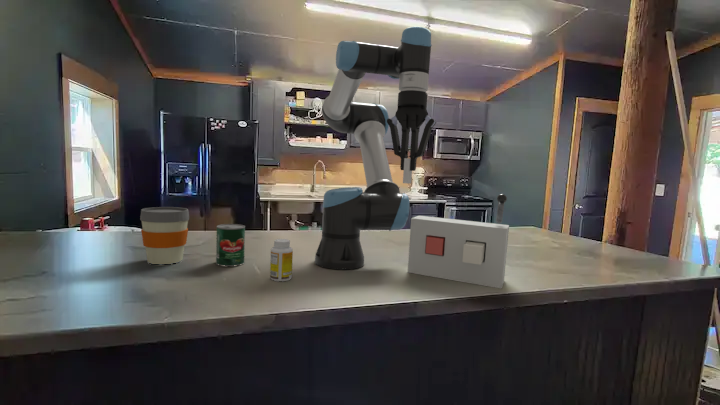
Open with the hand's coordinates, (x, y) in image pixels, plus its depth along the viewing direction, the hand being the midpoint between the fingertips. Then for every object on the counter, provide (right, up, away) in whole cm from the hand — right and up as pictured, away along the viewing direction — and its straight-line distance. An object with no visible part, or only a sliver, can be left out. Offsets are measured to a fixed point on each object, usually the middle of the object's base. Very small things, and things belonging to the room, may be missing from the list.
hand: (407, 183), depth 102 cm
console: (+14, -27, +8) cm, 31 cm away
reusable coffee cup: (-69, -22, +9) cm, 73 cm away
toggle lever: (+25, -11, +3) cm, 28 cm away
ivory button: (+18, -21, +1) cm, 27 cm away
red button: (+10, -19, +9) cm, 24 cm away
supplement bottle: (-33, -25, -1) cm, 42 cm away
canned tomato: (-50, -23, +11) cm, 56 cm away
